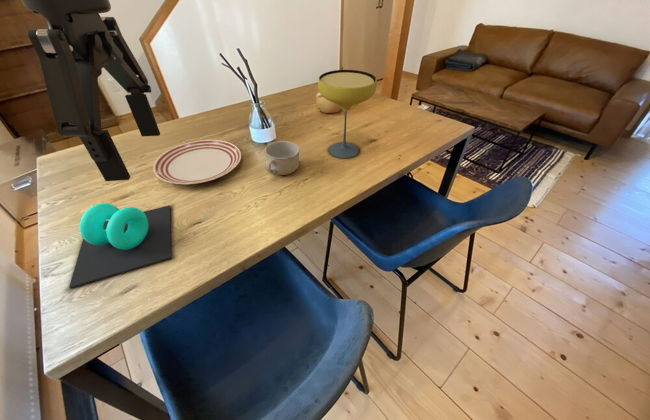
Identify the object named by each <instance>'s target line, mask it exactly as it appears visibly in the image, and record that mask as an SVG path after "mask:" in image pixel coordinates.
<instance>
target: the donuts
mask: <svg viewBox="0 0 650 420" xmlns="http://www.w3.org/2000/svg"><path fill="white" fill-rule="evenodd" d="M144 212H145V211H143V210H142V209H140V208H138V207H135V206H126V207H123V208H121V209H120V208H119V207H117V206H116V205H115V204H111V203H107V202H105V203H104V202H103V203H97V204H95V205H92V206H91V207H88V209H86V211H85V212H83V214H82V216H81V219H80V220H79V225H78V226H79V233H80V235H81V237H82V239H83V238H84V240H85V241H87V242H88V243H90V244H93V245H105V244H108V243H111V244H112V245H113V246H114V247H116V248H118V249H122V250H128V249H132V248H134V247H136V246H138V245H139V244H140V243H141V242H142V241H143V240H144V238H145V237H146V235H147V232H148V219H147V217H146V215H145V213H144ZM108 220H109V222H108V224H107V229H106V230H104V228H103V225H104V222H105V221H108ZM126 223H128V229H127V231H126V232H125V233H124V227H125V225H126Z"/></svg>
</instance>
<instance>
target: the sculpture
mask: <svg viewBox="0 0 650 420" xmlns="http://www.w3.org/2000/svg"><path fill="white" fill-rule="evenodd" d="M315 99H316V104H317V106H318V108H319V110H320V111H321V112H323V113H324V114H325V113H326V114H334V113H338V112H340V111H341V110H342V108H341V107H340V106H339V105H338V104H335V103H333V102H331V101H329V100H327V99H325V98H324V97H323V96H322V95H321V94H320V92H319V91H318V92H317V93H316V95H315Z"/></svg>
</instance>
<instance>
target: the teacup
mask: <svg viewBox="0 0 650 420" xmlns="http://www.w3.org/2000/svg"><path fill="white" fill-rule="evenodd" d="M264 153H265V159H266V160H265V161H266V162H265V169H266V171H267V173H268V172H269V173H271V174H275V175H276V174H277V175H281V176H286V175H290V174H292V173H294V172H295V171H296V170H297V169H298V167H299V164H300V147H299V146H298V144H296V143H295V142H292V141H287V140H277V141H273V142H269V144H267V145H266V146H265V148H264Z"/></svg>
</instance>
